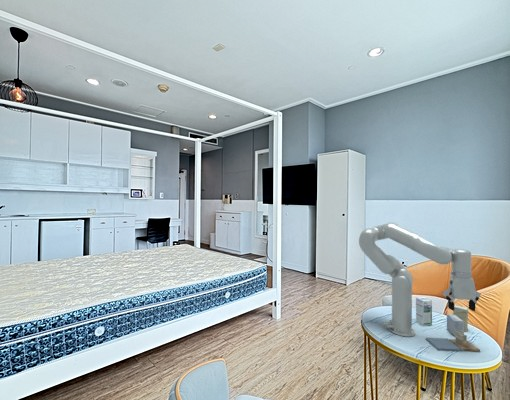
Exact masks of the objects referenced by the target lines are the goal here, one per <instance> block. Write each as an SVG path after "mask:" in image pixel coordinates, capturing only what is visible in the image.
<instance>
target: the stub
mask: <svg viewBox="0 0 510 400" xmlns="http://www.w3.org/2000/svg"><path fill="white" fill-rule="evenodd" d="M448 339H449V340H450V341H452V342H453V343H454V344H456V345H457V346H458V347H460V348H461V349H462V352H463V351H464V352H481V349H480V348H479V347H478V346H475V345H474V344H472V343H471V342H470V341H468V340H467V335H466V334H465V333H464V334H463V333H461V332H456V337H455V338H454V339H452V338H448Z"/></svg>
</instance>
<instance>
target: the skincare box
mask: <svg viewBox="0 0 510 400" xmlns="http://www.w3.org/2000/svg"><path fill="white" fill-rule="evenodd" d="M452 312H453V313H452V315H456V316H457V317H458V318H460V319H461V320H463V322H464V332H465V333H466V332H467V331H468V326H469V325H468V324H469V322H468V321H469V318H468V317H469V307H465V306H462V305H461V306H460V305H458V304H454V311H453V310H452Z"/></svg>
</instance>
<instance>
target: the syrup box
mask: <svg viewBox="0 0 510 400" xmlns="http://www.w3.org/2000/svg"><path fill="white" fill-rule="evenodd" d="M432 301H433V300H432V299H430V298H428V297H426V296H424V297H423V296H422V297H421V296H420V297H415V322H416V323H418V324H419V325H421V326H423V327H424V326H429V327H430V326H433V303H432Z"/></svg>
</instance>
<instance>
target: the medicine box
mask: <svg viewBox="0 0 510 400" xmlns="http://www.w3.org/2000/svg"><path fill="white" fill-rule="evenodd" d="M446 330H447V331H448V332H449V333H450V334H451V335H452V336H453V337H454V338H456V332H461V333H463V334H464V335H465V333H464V332H465V331H464V322H463V320H461V319H460V318H458V317H457V316H456V315H453V314H446Z"/></svg>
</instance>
